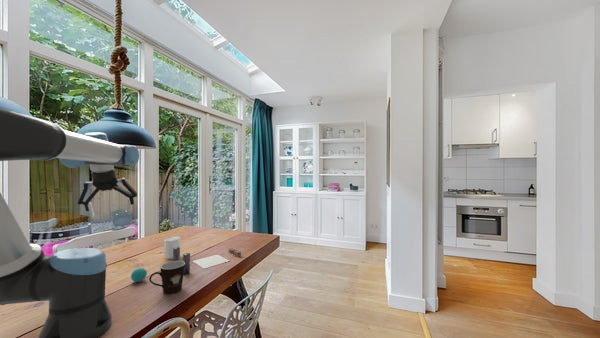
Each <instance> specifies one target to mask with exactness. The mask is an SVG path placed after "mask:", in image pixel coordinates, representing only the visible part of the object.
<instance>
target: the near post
mask: <svg viewBox="0 0 600 338" xmlns="http://www.w3.org/2000/svg"><path fill="white" fill-rule="evenodd" d="M182 261H184V262H185V268H184V275H183V276H188V275H190V273H191V270H190V269H191V253H190V252H185V253H183V254H182Z"/></svg>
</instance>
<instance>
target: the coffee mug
mask: <svg viewBox="0 0 600 338" xmlns="http://www.w3.org/2000/svg"><path fill="white" fill-rule="evenodd" d="M184 268H185V262H184V261H183V260H180V261H173V260H172V261H168V262H165V263H163V264H161V265H160V268H159V269H160V271H157V272H156V271H155V272H153V273H151V274H150V276H149V277H148V278H149V280H148V281H149V282H150V284H152V285H154V286H157V287H161V288H162V293H163V294H164V295H173V294H177V293H179V292H181V291H182V290H183V289H182V288H183V281H184V276H185V275H184ZM155 275H159V277H161V283H162V284H160V283H156V282H154V281H152V277H153V276H155Z"/></svg>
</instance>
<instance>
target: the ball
mask: <svg viewBox="0 0 600 338" xmlns="http://www.w3.org/2000/svg"><path fill="white" fill-rule="evenodd" d="M147 274H148V273H147V270H146V269H145V268H143V267H139V268H138V267H137V268H136V269H134V270H133V271H132V273H131V276H130V279H131V281H133V282H134V283H138V282H139V283H140V282H142V281H144V280H145V279H146V277H147Z"/></svg>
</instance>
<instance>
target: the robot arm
mask: <svg viewBox="0 0 600 338" xmlns="http://www.w3.org/2000/svg"><path fill="white" fill-rule="evenodd" d="M53 159H59V162H60V163H61V164H62V165H64V166H65V167H67V168H71V169H77V168H80V167H84V166H88V165H89V170H90V171H91V172H90V173H91V178H92V181H89V180H85V182H84V183H83V189H82V192H81V194H80V197H79V199H78V201H77V205H83V206H84V208H85V211H86V212H89V214H90V218H91V219H94V218H95V216H96V214H95V210H94V207H93V202H92V199H93V198H94V197H95V196H96V195H97V194H98V193H99V191H101V192H105V191H112V190H115V191H117V192H119V193H120V194H121V195H123V196H125V197H127V205H128V209H129V210H128V211H129V213H132V212H133V205H134V203H135V201H134V200H135V199H134V198H136V197H138V192H137V190H135V189H134V188H133V187H132V186H131V185H130V184H129V182H128V181H127V179H126V177H124V176H123V177H121V178H117V176H116V170H115V168H114V167H115V166H135V165H136V164H138V162H139V160H140V151H139V149H138V147H137V146H136V145H130V144H118V143H114V142H110V141H109V138H108V135H107V133H105V132H99V131H96V132H95V131H93V132H91V131H90V132H86V133H83V134H80V133H76V132H72V131H70V130H65V129H63V127H61V126H60V125H59V124H57V123H54V122H51V121H48V120H46V119H45V120H44V119H42V118H38V117H35V116H31V115H28V114H24V113H20V112H18V111H13V110H9V109H5V108H0V162H6V161H7V162H10V161H43V162H44V161H50V160H53ZM114 165H115V166H114ZM118 183H120V184H122V185H123V187H124V188H126V189H124V188H123V187H121V186H120V184H118ZM92 186H93V187H95V189H94V190H93V191H92V192H91V194H89V196H88V197H87V198H86V199H85V197H86V194H87V192H88V190H89V188H91V187H92ZM107 267H108V265H107V256H106V253H105V252H104V251H103V250H101V249H99V248H94V247H78V248H68V249H63V250H59V251H56V252H55V253H53V254H52V255H46V254H45V252H44V251H43V249H42V246H40V245H39V244H37V243H30V242H29V240H28V238H27V237H26V235H25V234H24V232H23V230H22V228H21V227H20V225H19V222H18V221H17V219H16V217H15V215H14V214H13V212H12V211H11V208H10V207H9V205H8V203H7V202H6V199H5V198H4V196H3V193H2V192H1V191H0V306H5V305H13V304H24V303H33V302H35V303H36V302H45V301H46V302H47V301H48V314H47V318H46V319H45V322H44V324H43V327H42V328H41V331H40V333H39V336H38V338H99V337H101V335H103V334H105V332H106V331H107V330H109V328H110V327H111V326H112V321H113V320H112V319H113V318H112V312H111V310H110V308H109V305H108V303H107V300H106V279H107V278H106V277H107Z"/></svg>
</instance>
